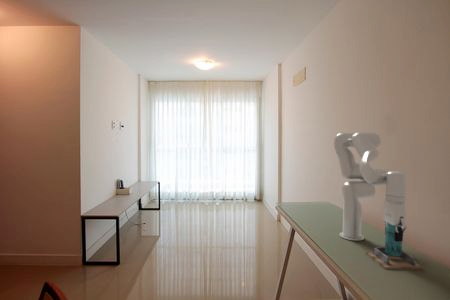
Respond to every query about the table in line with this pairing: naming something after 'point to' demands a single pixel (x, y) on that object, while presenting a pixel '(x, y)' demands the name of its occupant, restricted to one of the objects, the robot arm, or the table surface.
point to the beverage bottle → (392, 241)
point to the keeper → (394, 260)
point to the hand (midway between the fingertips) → (393, 237)
